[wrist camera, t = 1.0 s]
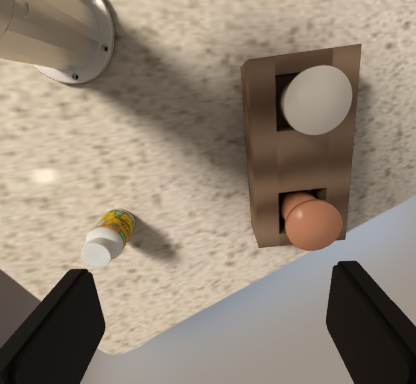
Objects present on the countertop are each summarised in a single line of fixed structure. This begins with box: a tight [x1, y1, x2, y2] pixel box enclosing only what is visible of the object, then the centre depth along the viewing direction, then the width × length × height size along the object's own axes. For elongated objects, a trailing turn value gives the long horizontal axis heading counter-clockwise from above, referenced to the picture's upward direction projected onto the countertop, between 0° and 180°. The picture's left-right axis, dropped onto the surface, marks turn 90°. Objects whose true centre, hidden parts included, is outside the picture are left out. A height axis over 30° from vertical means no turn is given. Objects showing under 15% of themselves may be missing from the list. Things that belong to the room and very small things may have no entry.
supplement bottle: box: [81, 209, 135, 268], centre depth 37 cm, size 5×5×10 cm
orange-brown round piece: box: [280, 190, 342, 251], centre depth 32 cm, size 6×6×6 cm
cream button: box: [278, 65, 352, 135], centre depth 27 cm, size 6×6×6 cm
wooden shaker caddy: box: [241, 44, 362, 248], centre depth 34 cm, size 24×12×7 cm, turn 7°
